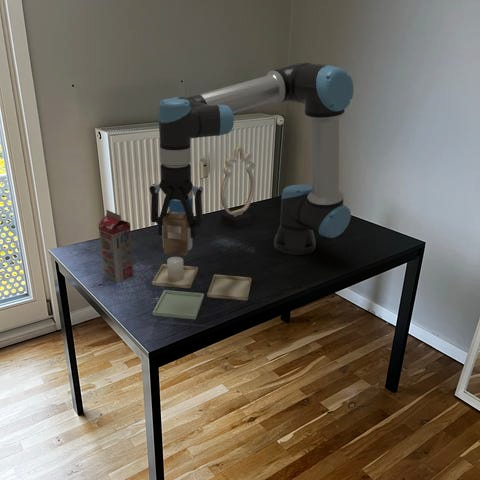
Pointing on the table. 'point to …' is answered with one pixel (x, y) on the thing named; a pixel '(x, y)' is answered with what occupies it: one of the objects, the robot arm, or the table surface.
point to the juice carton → (116, 247)
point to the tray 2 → (178, 304)
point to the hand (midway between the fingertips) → (177, 246)
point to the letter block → (175, 233)
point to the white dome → (175, 268)
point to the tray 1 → (186, 282)
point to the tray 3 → (229, 287)
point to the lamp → (239, 216)
